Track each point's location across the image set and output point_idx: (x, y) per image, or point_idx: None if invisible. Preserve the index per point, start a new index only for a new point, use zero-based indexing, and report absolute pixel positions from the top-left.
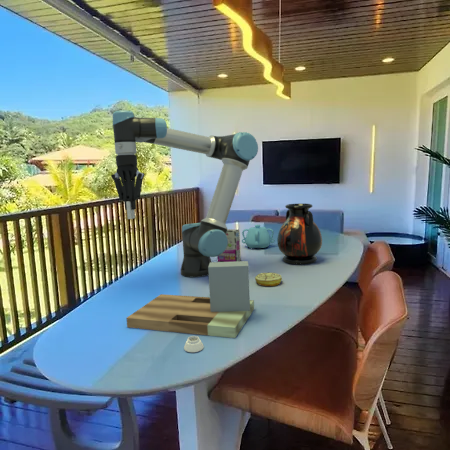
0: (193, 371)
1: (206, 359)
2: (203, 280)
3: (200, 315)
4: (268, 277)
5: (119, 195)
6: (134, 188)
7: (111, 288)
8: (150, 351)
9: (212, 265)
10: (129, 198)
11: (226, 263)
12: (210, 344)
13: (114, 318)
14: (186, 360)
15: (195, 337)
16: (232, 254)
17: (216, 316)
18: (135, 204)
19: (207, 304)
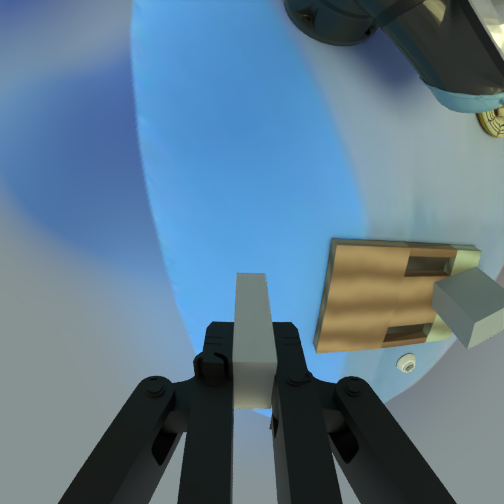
0: (404, 386)
1: (415, 370)
2: (374, 72)
3: (418, 321)
4: (501, 130)
5: (153, 448)
6: (334, 491)
7: (151, 163)
8: (363, 377)
9: (474, 339)
10: (232, 391)
11: (492, 322)
12: (420, 349)
13: (274, 321)
14: (398, 377)
15: (411, 363)
16: None
17: (436, 318)
18: (301, 351)
19: (428, 281)
